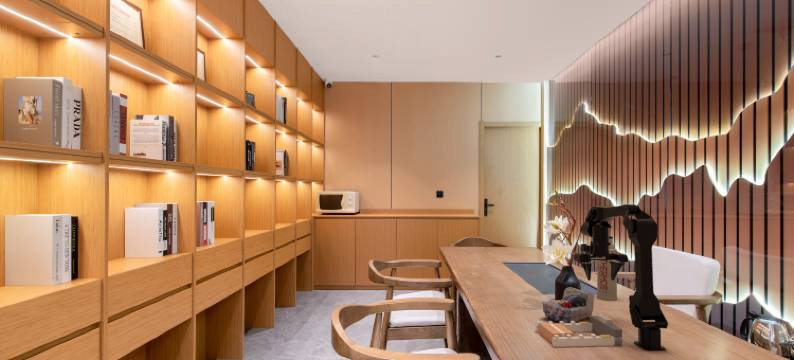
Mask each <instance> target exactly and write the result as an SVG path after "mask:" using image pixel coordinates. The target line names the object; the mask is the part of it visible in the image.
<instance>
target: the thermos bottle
mask: <svg viewBox="0 0 794 360" xmlns="http://www.w3.org/2000/svg"><path fill="white" fill-rule="evenodd" d="M613 240H614V236H612V235H609V242H610V243H611V245H609V253H610V254H611V253H618V249H617V248H616V244H615V243H614V241H613ZM596 261H597V264H596V265H597V266H596V268H597V269H596V271H597V273H596V274H597V283H596V286H597V287H596V289H597V292H596V293H597V294H596V295H597V299H599V300H603V301H617V300H618V274H617V275H616V277H615V279H614V281H612V280H611V264H610V261H612V260H596Z"/></svg>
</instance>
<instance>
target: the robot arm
mask: <svg viewBox="0 0 794 360" xmlns="http://www.w3.org/2000/svg"><path fill="white" fill-rule="evenodd" d="M630 217H634V218H632V219H631V218H630ZM615 218H622V225H623V226H624V228H625V229H626V231H627V235H628V236H627V237H628V240H630V243H631V244H632V245H633V247H634V250H633V251H634V273H635V274H634V276H635V277H634V278H635V279H634V280H635V291H634V292H633V294H632V295H631V294H630V295H629V296H628V302H629V304H628V309H629V314H630V320H631V324H632V326H633V327H634V328H637V336H638V337H637V341H636V340H634V341H633V344H635V345H636V346H639V347H640V348H642V349H644V350H645V351H661V350H663V351H664V350H665V351H666V350H667V348H666V347H665V346H663V345H662V330H661V329H668V326H669V322H668V320H667V317H666V316H665V314H664V312H663V311H662V308H661V303H660V300H659V299H658V298H657V295H656V294H655V292H654V271H653V266H654V265H653V246H654V245H655V243H656V241H657V240H658V233H659V225H658V223H657V222H656V221H655V220H654V218H653V217H652V216H651V215H650V214H649V213H647V212H645V211H644V210H642V209H641V208H640V206H639V205H637V204H633V203H632V204H629V203H628V204H627V203H626V204H622V205H615V206H608V205H602V206H601V205H592V206H591V207H590V209H589V210H588V212H587V215H586V217H585V218H584V222H583V223H582V224H581V226H580V229H579V232H580V233H581V235H583V236H585V237H590V238H592V240H590V242H589V245H588V244H587V243H580V246H579V247H580V252H575V253H574V254H573V261H575V262H577V263H578V264H580V265H581V267H582V268H583V271H584V274H585V277H586V278H587V281H589V282H590V281H591V278H592V263H591V261H597V260H612V261H610V264H611V280H612V281H614V279H615V277H616V275H617V276H618V273H619V272H620V270H621V268H622V267H623V265H624V266H625V265H626V263H629V256H628V254H626V253H621V252H617V253H611V254H610V253H609V245H611V243H610V242H609V236H610V229H612V225H611V224H610V223H609V222H610V221H613V220H614V219H615Z"/></svg>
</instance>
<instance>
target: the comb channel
mask: <svg viewBox="0 0 794 360" xmlns="http://www.w3.org/2000/svg"><path fill="white" fill-rule="evenodd" d="M589 321H590V322H588V321H578V322H574V321H571V323H564V322H563V321H560V322H556V324H561V325H563V326H564V327H566V328H567V329H569V330H570V331H571V332H573V333H577V332H578V333H579V332H581V333H579V334H578V335H577V336H574V337H571V335H569V334H566V337H559V336H558V335H554V337H552V343H551V344H552V346H553V347H554V348H557V347H558V348H560V347H561V348H562V347H563V348H564V347H565V348H567V347H569V348H570V347H571V348H572V347H574V348H575V347H611V346H612V347H614V346H615V347H616V346H617V347H618V346H621V347H622V346H623V329H622V328H620V327H619V326H617V325H615V324H614V323H613V319H612V318H609V317H608V316H606V315H591V316H589ZM548 323H552V324H554V322H553V321H552V320H549V321H548ZM548 323H547V324H548ZM540 324H543V323H542V322H541V321H536V323H535V332H536V333H539V334H540ZM582 332H583V333H584V332H587V333H589V332H592V333H590V336H585V335H583V334H582Z"/></svg>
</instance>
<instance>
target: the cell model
mask: <svg viewBox="0 0 794 360" xmlns="http://www.w3.org/2000/svg"><path fill="white" fill-rule="evenodd" d="M541 304H542V312H543V313H544V315H545V318H546V319H547V318H548V319H550V321H552V322H553V321H554V322H556V323H560V321H563V322H564V323H571V321H574V322H576V323H579V322H580V321H583V320H586V319H587V318H588V317H590V316H593V315H592V314H593V312H594V306H595V305H594V304H595V295H594V294H593V293H590V292H587V291H584V290H580V289H577V288H574V287H566V288H565V289H564V291H563V297H562V299H558V300H557V299H555V300H553V299H552V300H545V301H542V303H541Z"/></svg>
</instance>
